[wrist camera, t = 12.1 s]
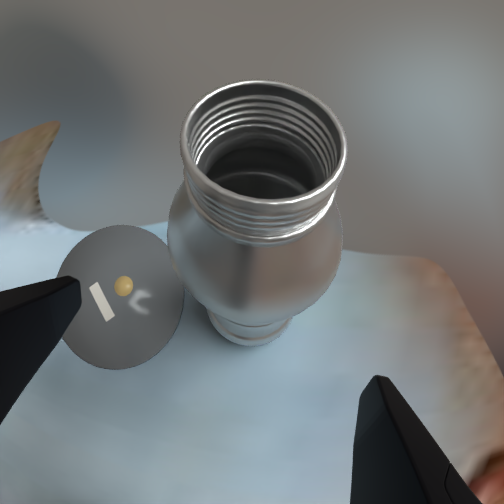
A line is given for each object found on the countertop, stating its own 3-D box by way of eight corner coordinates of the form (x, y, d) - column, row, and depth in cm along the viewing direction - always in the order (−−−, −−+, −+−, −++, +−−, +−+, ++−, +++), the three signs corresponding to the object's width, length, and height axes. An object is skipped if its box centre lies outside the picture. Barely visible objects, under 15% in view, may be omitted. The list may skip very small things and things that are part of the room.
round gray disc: (92, 395, 22) (92, 395, 22) (37, 274, 25) (36, 274, 25) (214, 315, 25) (214, 315, 24) (139, 200, 28) (139, 200, 28)
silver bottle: (232, 361, 23) (182, 361, 5) (196, 286, 25) (93, 98, 7) (304, 325, 24) (462, 207, 6) (265, 254, 26) (305, 34, 8)
